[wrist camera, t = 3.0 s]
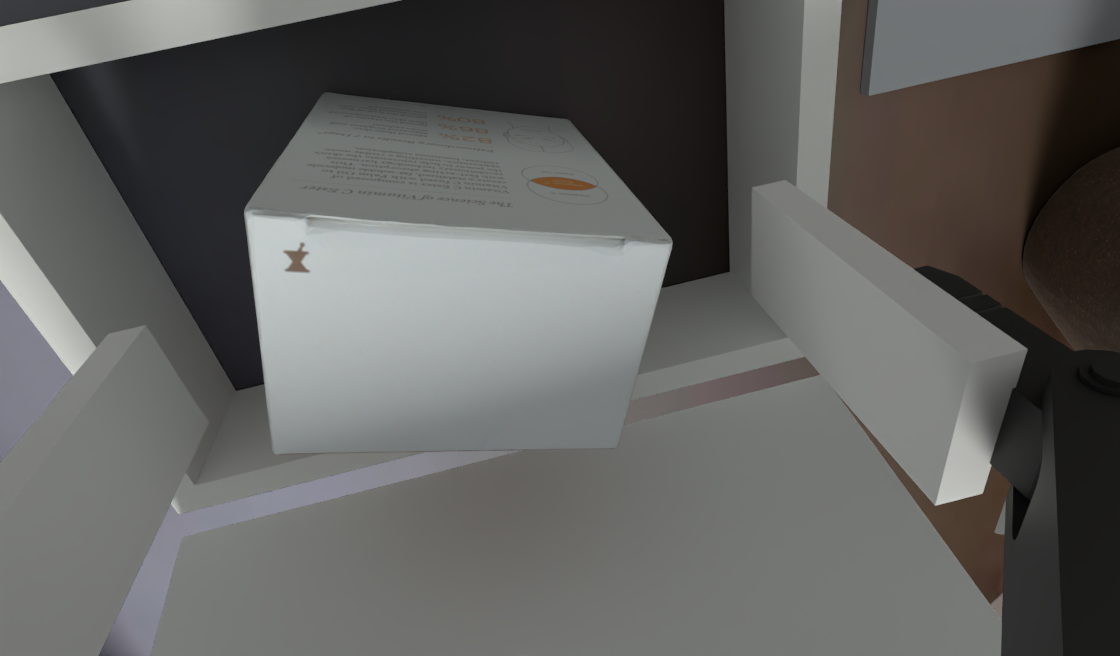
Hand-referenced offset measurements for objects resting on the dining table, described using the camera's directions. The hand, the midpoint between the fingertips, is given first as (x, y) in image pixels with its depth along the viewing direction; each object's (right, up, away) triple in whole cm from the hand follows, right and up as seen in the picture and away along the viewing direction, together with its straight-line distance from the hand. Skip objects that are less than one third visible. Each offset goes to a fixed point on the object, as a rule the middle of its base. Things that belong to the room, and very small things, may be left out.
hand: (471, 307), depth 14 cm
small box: (-2, +5, +8) cm, 9 cm away
